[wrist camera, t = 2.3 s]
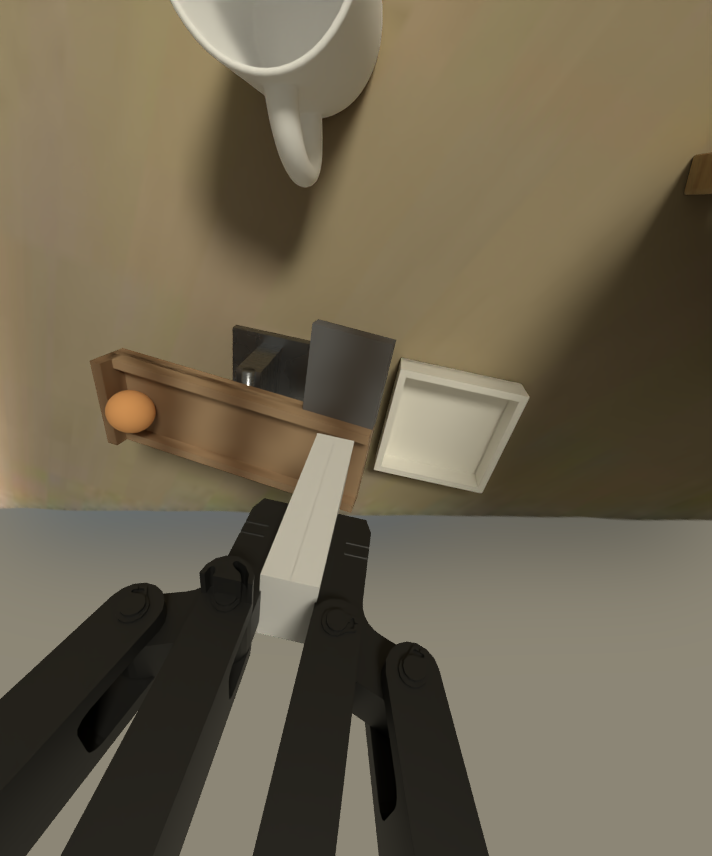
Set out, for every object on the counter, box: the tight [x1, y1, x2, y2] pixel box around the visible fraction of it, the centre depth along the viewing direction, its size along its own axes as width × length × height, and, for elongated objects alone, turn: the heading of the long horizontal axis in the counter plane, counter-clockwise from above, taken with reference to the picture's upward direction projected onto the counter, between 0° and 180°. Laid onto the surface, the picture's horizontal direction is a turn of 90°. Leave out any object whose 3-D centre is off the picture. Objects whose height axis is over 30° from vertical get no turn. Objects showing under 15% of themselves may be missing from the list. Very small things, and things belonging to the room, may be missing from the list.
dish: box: [374, 357, 530, 493], centre depth 33 cm, size 11×11×3 cm
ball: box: [105, 390, 156, 433], centre depth 27 cm, size 3×3×3 cm
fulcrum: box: [233, 325, 310, 401], centre depth 32 cm, size 7×10×7 cm
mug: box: [170, 0, 383, 188], centre depth 18 cm, size 12×8×10 cm
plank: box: [90, 319, 396, 513], centre depth 26 cm, size 20×13×3 cm, turn 80°
